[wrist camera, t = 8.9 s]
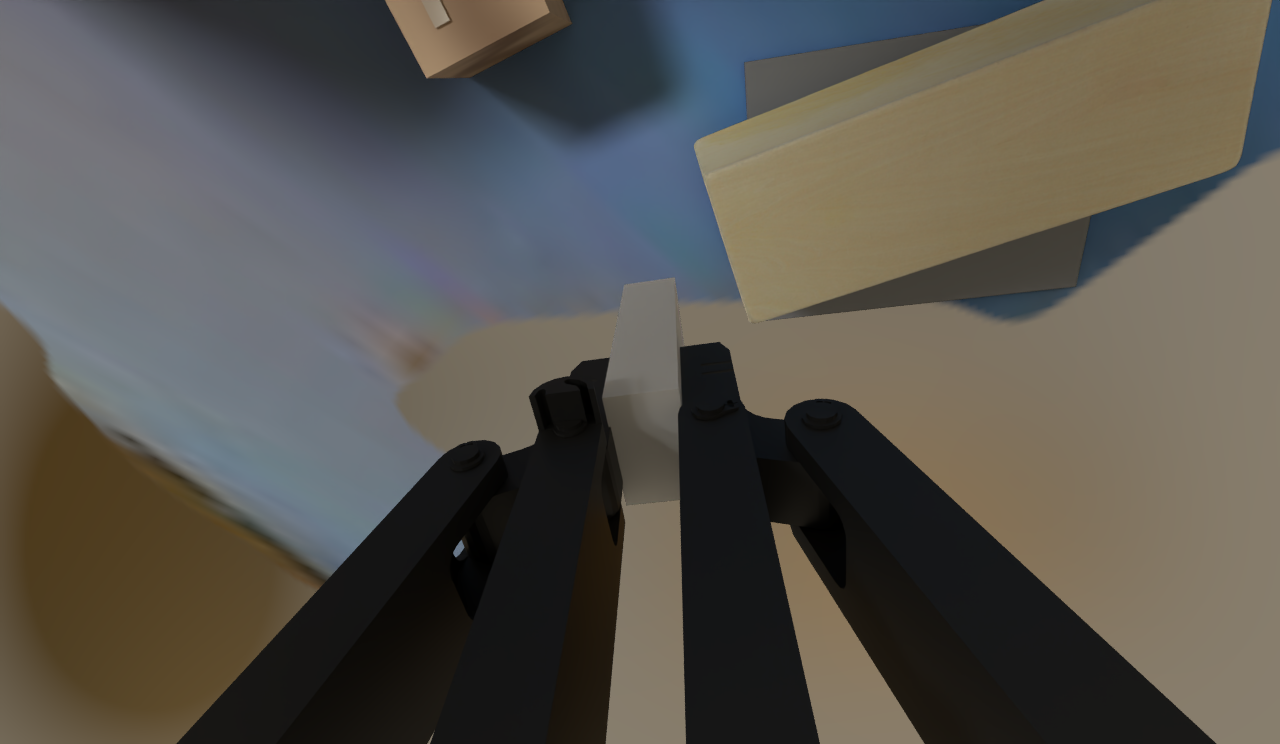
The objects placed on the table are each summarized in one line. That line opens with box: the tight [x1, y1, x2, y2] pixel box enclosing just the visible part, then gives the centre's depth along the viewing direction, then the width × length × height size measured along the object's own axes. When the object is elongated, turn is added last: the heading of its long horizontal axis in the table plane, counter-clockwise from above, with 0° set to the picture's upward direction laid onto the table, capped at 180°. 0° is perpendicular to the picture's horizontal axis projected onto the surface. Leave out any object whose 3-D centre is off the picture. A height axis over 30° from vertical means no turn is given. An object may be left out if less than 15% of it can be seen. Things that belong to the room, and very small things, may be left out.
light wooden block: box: [694, 0, 1272, 323], centre depth 27 cm, size 8×7×21 cm
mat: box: [744, 24, 1091, 321], centre depth 31 cm, size 18×14×1 cm
